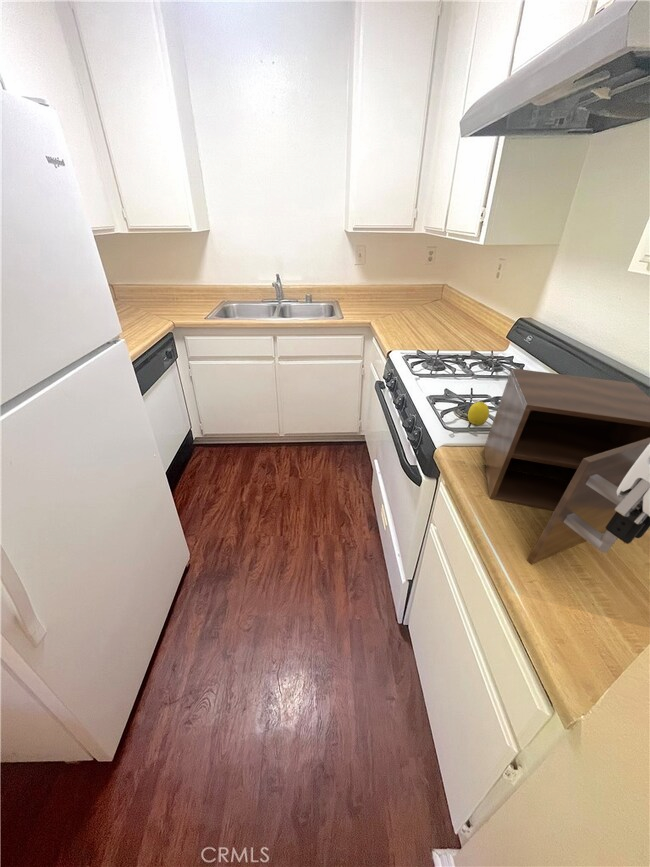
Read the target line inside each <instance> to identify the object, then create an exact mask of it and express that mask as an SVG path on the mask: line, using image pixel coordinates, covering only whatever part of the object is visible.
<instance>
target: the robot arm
mask: <svg viewBox="0 0 650 867" xmlns="http://www.w3.org/2000/svg"><path fill="white" fill-rule="evenodd" d="M625 495H627V496H626V497H625V498H624V499H623V500H622V501H621V503H620V504H619V505H618V506H617V507H616V508H615V511H616V513H615V514H614V516H613V517H612V519H611V520H610V521H609V523H608V524H607V526H606V530H608V531H609V532H610V533H612V534H613V535H615V536H616V537H617V539H619V540H620V541H622V542H623V543H624V544H631V543H632V542H633V540H634V539H640V538H642V537H643V536H644V535H645V534H646V533H647V531H648V530H649V529H650V444H649V445H648V446H647V447H646V449H645V450H644V451H643V453H642V454H641V455H640V456H639V458H638V459H637V460H636V462H635V463H634V464H633V466H632V467H631V469H630V470H629V471H628V473H627V474H626V476H625V477H624V479H623V480H622V482H621V484H620V485H619V487H618V489H617V496H618V497H623V496H625ZM636 506H637V507H639V508H640V509H639V510H637V509H636V508H635V507H636Z"/></svg>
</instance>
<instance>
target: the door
mask: <svg viewBox="0 0 650 867" xmlns="http://www.w3.org/2000/svg"><path fill="white" fill-rule="evenodd" d="M649 444H650V438H647V439H643V440H640V441H637V442H634V443H631V444H628V445H624V446H621V447H618V448H615V449H612V450H609V451H605V452H602V453H599V454H596V455H593V456H590V457H586V458H583V460H582V462H581V463H580V465H579V467H578V469H576V471H575V473H574V474H573V476H572V478H571V479H570V480H571V482H570V483H569V485H568V487H567V489H566V491H565V492H564V494H563V496H562V498H561V500H560V502H559V503H558V505H557V507H556V509H555V511H554V512H553V511H552V514H551V516H550V518H549V520H548V522H546V524H545V527H544V528H543V530H542V532H541V534H540V536H539V537H538V539H537V541H536V543H535V545H534V547H533V548H532V551H531V552H530V554H529V556H528V558H526V562H528V563H529V564H530V565H534V564H536V563H538V562H540V561H543V560H545V559H547V558H550V557H552V556H555V555H557V554H559V553H562V552H564V551H566V550H568V549H571V548H573V547H576V546H578V545H580V544H582V543H585V542H588V543H589V544H590V545H592V546H593V547H594V548H595V549H597V550H598V551H600V552H602V553H608V552H609V551H610V550H611V548H612V547H613V545H614V544H615V543H616V541H617V540H618V538H617V537H616V536H615V535H613V534H612V533H610V532H609V531H608V530H606V526H607V524H608V523H609V521H610V520H611V519H612V517H613V516H614V514H615V513H616V511H615V508H616V507H617V506H618V505H619V504H620V503H621V501H622V500H623V499H624V498H625V497H626V496H627V495H625V496H623V497H618V496H617V489H618V487H619V485H620V484H621V482H622V480H623V479H624V477H625V476H626V474H627V473H628V471H629V470H630V469H631V467H632V466H633V464H634V463H635V462H636V460H637V459H638V458H639V456H640V455H641V454H642V453H643V451H644V450H645V449H646V447H647V446H648V445H649ZM635 508H636V509H637V510H639V509H640V508H639V507H637V506H636V507H635Z"/></svg>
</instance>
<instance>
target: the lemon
mask: <svg viewBox="0 0 650 867" xmlns="http://www.w3.org/2000/svg"><path fill="white" fill-rule="evenodd" d="M489 415H490V409H489V405H487V404H486V403H485V402H483V401H476V402H475V403H472V405H470V407H469V409H468V412H467V419H468V421H469V423H470V424H471V425H475V426H481V425H483V424H486V422H487V421H488V418H489Z"/></svg>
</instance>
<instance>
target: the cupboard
mask: <svg viewBox="0 0 650 867" xmlns="http://www.w3.org/2000/svg"><path fill="white" fill-rule="evenodd" d="M510 369H511V370H510V372H509V375H508V377H507V380H506V384H505V387H504V389H503V392H502V396H501V398H500V401H499V404H498V407H497V410H496V412H495V416H494V417H493V422H492V424H491V426H490V429H489V433H488V436H487V438H486V442H485V445H484V448H483V453H484V458H485V464H484V465H483V466H484V471H485V477H486V484H487V491H488V496H489V499H490V500H493V501H499V502H504V503H508V504H509V503H510V504H513V505H514V504H515V505H519V506H524V507H529V508H533V509H538V510H543V511H549V512H552V513H553V512H554V511H555V509H556V507H557V505H558V503H559V502H560V500H561V498H562V496H563V494H564V492H565V491H566V489H567V487H568V485H569V483H570V482H571V480H572V479H566V478H565V479H564V478H559V477H554V476H549V475H543V474H538V473H532V472H525V471H521V470H516V469H515V470H514V469H510V468H508V467H509V464H510V462H511V460H512V459H515V460H516V459H517V460H521V461H528V462H532V463H533V462H534V463H539V464H545V465H551V466H557V467H562V468H568V469H572V470H573V469H574V470H577V469H578V467H579V465H580V463H581V462H582V460H583V458H586V457H590V456H593V455H596V454H599V453H602V452H605V451H609V450H612V449H615V448H618V447H621V446H624V445H628V444H631V443H634V442H637V441H640V440H643V439H647V438H650V396H648V395H647V394H646V393H645V392H644V391H643V390H642V389H641V388H640V387H639V386H637V385H636V384H635V383H634V382H628V381H620V380H612V379H602V378H594V377H587V376H580V375H579V376H578V375H571V374H563V373H553V372H546V371H545V372H544V371H538V370H529V369H521V368H510Z"/></svg>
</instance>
